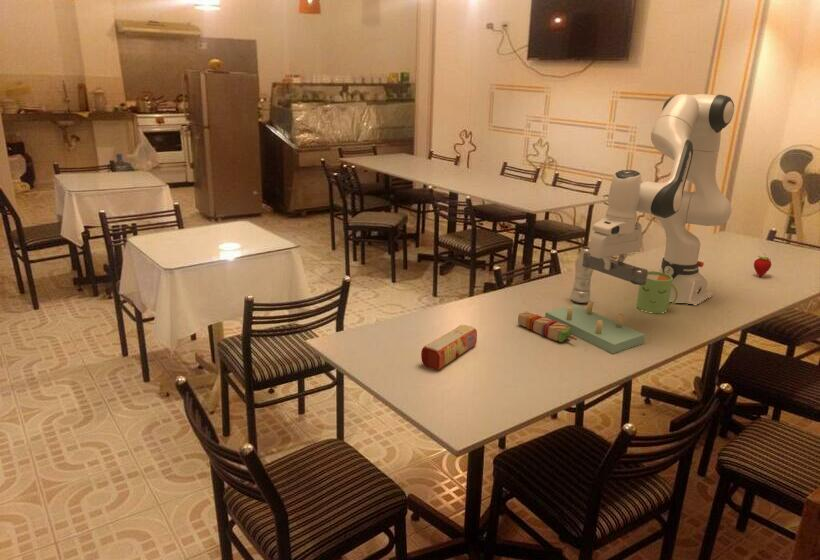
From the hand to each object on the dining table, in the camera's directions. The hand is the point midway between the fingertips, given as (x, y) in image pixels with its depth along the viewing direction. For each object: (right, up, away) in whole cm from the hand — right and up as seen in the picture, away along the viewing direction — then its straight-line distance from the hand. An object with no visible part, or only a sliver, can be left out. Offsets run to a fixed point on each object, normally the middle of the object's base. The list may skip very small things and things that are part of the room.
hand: (613, 268), depth 189 cm
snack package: (-52, -26, -13) cm, 59 cm away
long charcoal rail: (0, -2, +1) cm, 2 cm away
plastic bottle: (-3, -12, +28) cm, 30 cm away
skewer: (-20, -21, +1) cm, 29 cm away
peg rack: (-5, -20, +4) cm, 21 cm away
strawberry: (+79, -3, +58) cm, 98 cm away
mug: (+22, -14, +23) cm, 35 cm away
